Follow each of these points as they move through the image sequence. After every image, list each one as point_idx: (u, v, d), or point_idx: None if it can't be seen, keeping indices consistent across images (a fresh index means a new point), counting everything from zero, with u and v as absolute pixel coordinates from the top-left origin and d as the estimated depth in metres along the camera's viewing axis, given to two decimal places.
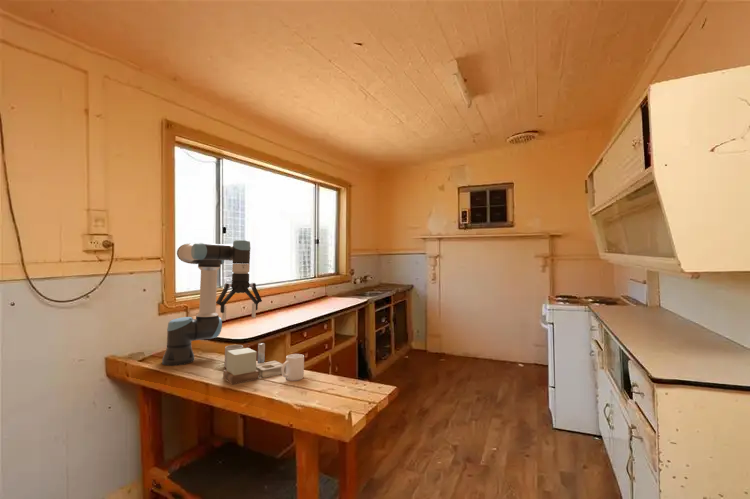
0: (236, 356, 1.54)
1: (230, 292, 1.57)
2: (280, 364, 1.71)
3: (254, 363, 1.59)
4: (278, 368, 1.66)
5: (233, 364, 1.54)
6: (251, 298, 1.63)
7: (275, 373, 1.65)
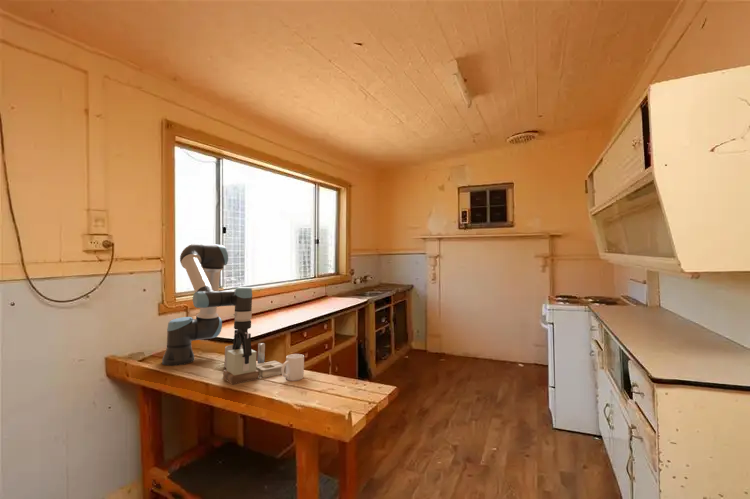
0: (236, 356, 1.54)
1: None
2: (280, 364, 1.71)
3: (254, 363, 1.59)
4: (278, 368, 1.66)
5: (233, 364, 1.54)
6: None
7: (275, 373, 1.65)
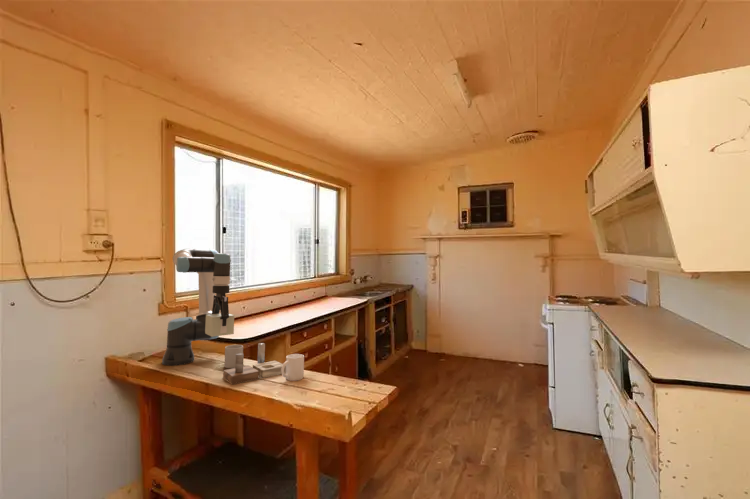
0: (214, 318, 1.59)
1: None
2: (280, 364, 1.71)
3: (232, 326, 1.65)
4: (278, 368, 1.66)
5: (211, 326, 1.60)
6: None
7: (275, 373, 1.65)
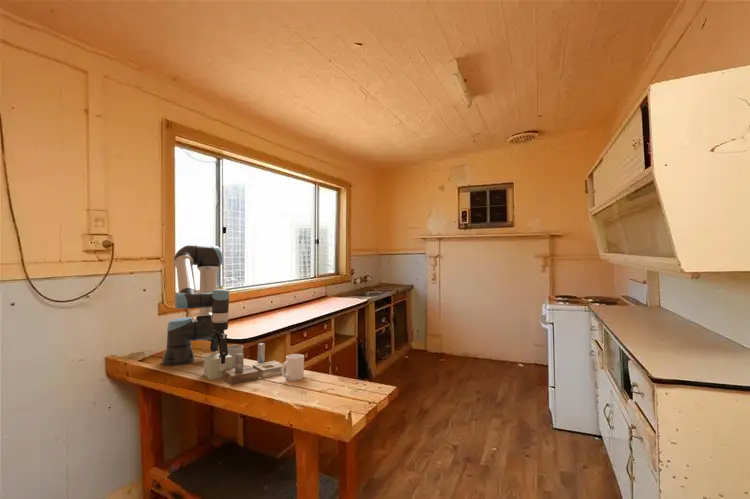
0: (212, 361, 1.58)
1: None
2: (280, 364, 1.71)
3: (230, 368, 1.64)
4: (278, 368, 1.66)
5: (209, 369, 1.59)
6: None
7: (275, 373, 1.65)
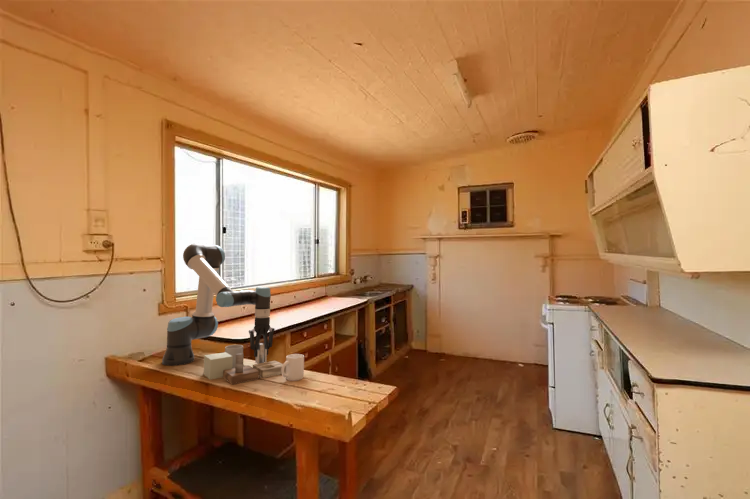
0: (212, 361, 1.58)
1: (256, 336, 1.77)
2: (280, 364, 1.71)
3: (230, 367, 1.64)
4: (278, 368, 1.66)
5: (209, 368, 1.59)
6: (265, 342, 1.79)
7: (275, 373, 1.65)
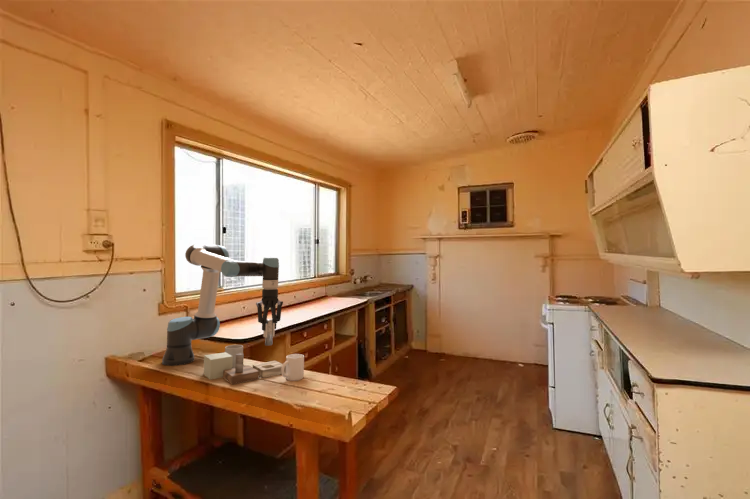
0: (212, 361, 1.58)
1: (264, 309, 1.67)
2: (280, 364, 1.71)
3: (230, 367, 1.64)
4: (278, 368, 1.66)
5: (209, 368, 1.59)
6: (273, 315, 1.70)
7: (275, 373, 1.65)
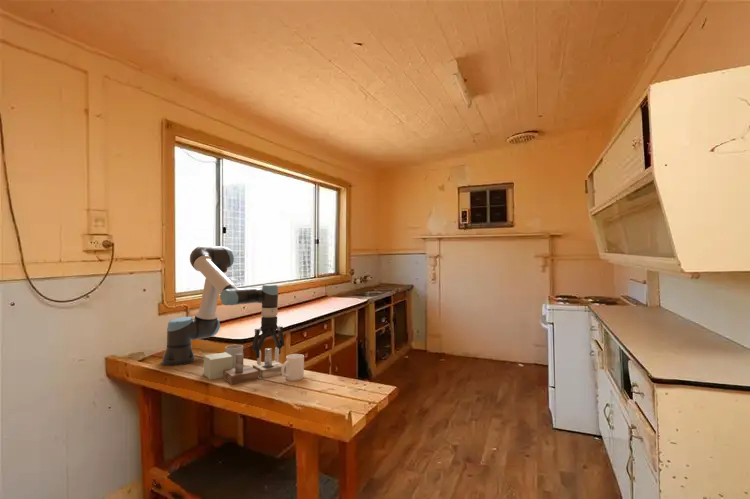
0: (212, 361, 1.58)
1: (261, 336, 1.66)
2: (280, 364, 1.71)
3: (230, 367, 1.64)
4: (278, 368, 1.66)
5: (209, 368, 1.59)
6: (275, 341, 1.70)
7: (275, 373, 1.65)
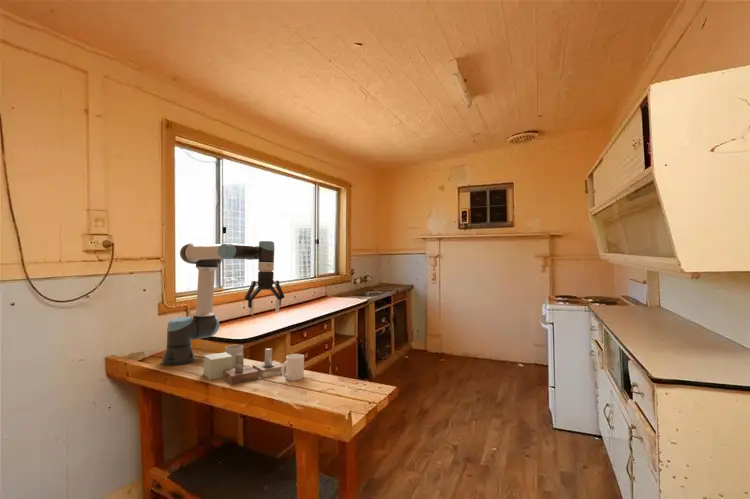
0: (212, 361, 1.58)
1: (256, 289, 1.71)
2: (280, 364, 1.71)
3: (230, 367, 1.64)
4: (278, 368, 1.66)
5: (209, 368, 1.59)
6: (275, 294, 1.77)
7: (275, 373, 1.65)
